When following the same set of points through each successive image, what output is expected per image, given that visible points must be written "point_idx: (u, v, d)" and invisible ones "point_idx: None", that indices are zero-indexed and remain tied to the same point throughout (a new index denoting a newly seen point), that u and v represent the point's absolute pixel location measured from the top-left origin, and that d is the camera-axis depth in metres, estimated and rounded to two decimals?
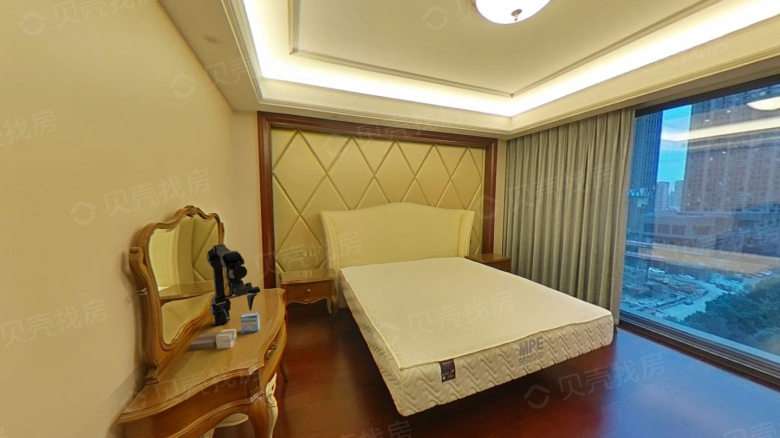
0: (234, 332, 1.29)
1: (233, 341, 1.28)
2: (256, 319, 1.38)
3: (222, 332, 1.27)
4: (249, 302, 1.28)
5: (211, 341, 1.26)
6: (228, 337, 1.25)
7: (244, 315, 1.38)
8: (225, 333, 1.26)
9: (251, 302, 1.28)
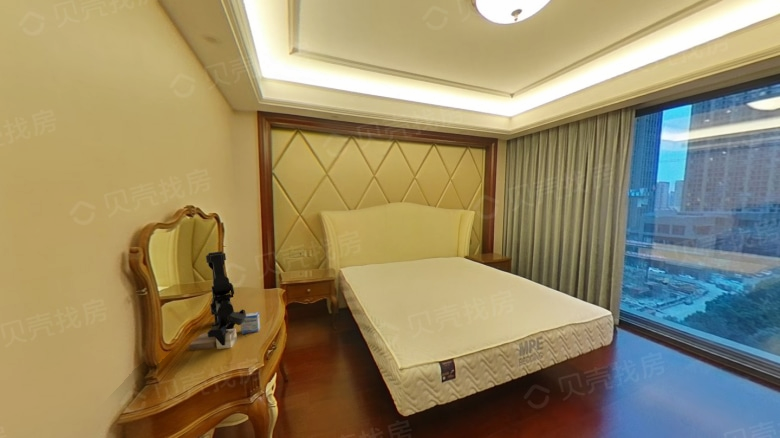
0: (234, 332, 1.29)
1: (233, 341, 1.28)
2: (256, 319, 1.38)
3: None
4: None
5: (211, 341, 1.26)
6: (228, 337, 1.25)
7: None
8: None
9: None
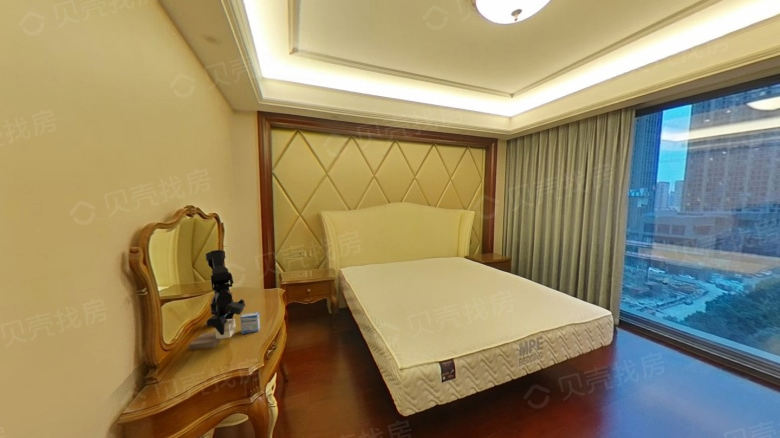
0: (233, 322, 1.28)
1: (232, 331, 1.27)
2: (256, 319, 1.38)
3: None
4: None
5: (211, 341, 1.26)
6: (227, 327, 1.24)
7: (244, 315, 1.38)
8: None
9: None
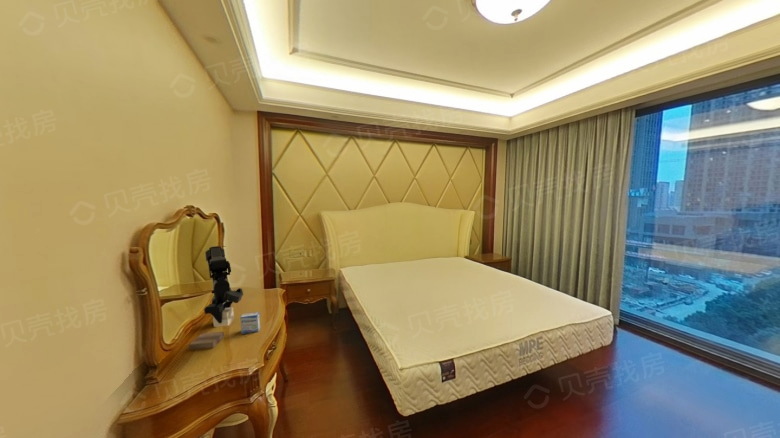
0: (231, 310, 1.28)
1: (230, 319, 1.27)
2: (256, 319, 1.38)
3: None
4: None
5: (211, 341, 1.26)
6: (225, 315, 1.24)
7: (244, 315, 1.38)
8: None
9: None
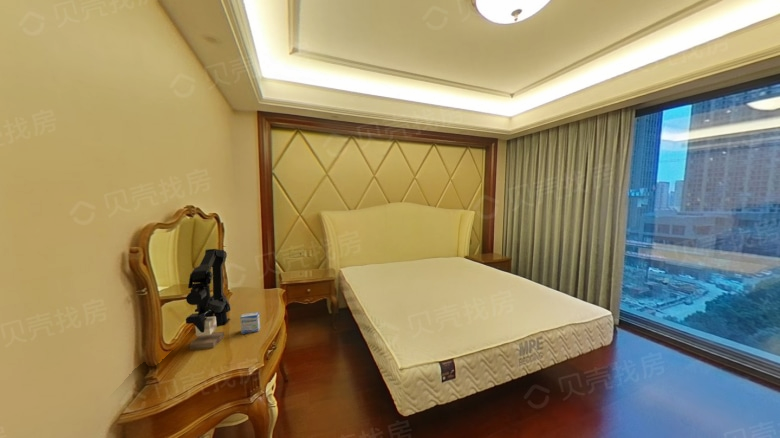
0: (214, 319, 1.30)
1: (213, 328, 1.29)
2: (256, 319, 1.38)
3: None
4: None
5: (211, 341, 1.26)
6: (207, 324, 1.26)
7: (244, 315, 1.38)
8: (205, 320, 1.28)
9: None
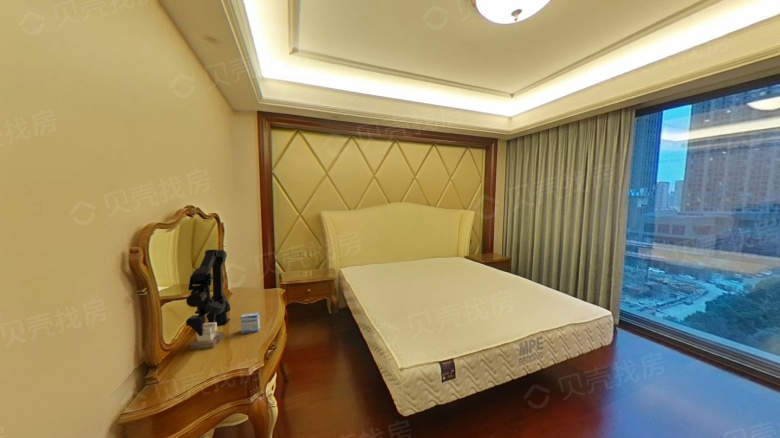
0: (215, 325, 1.31)
1: (213, 334, 1.29)
2: (256, 319, 1.38)
3: None
4: (211, 318, 1.33)
5: (211, 341, 1.26)
6: (208, 330, 1.26)
7: (244, 315, 1.38)
8: (205, 326, 1.28)
9: (214, 318, 1.34)
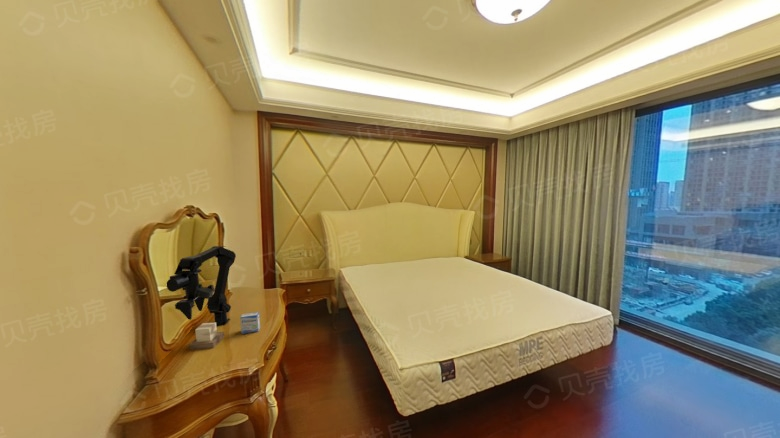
0: (214, 325, 1.30)
1: (213, 334, 1.29)
2: (256, 319, 1.38)
3: (201, 326, 1.28)
4: (200, 303, 1.37)
5: (211, 341, 1.26)
6: (208, 331, 1.26)
7: (244, 315, 1.38)
8: (205, 326, 1.28)
9: None
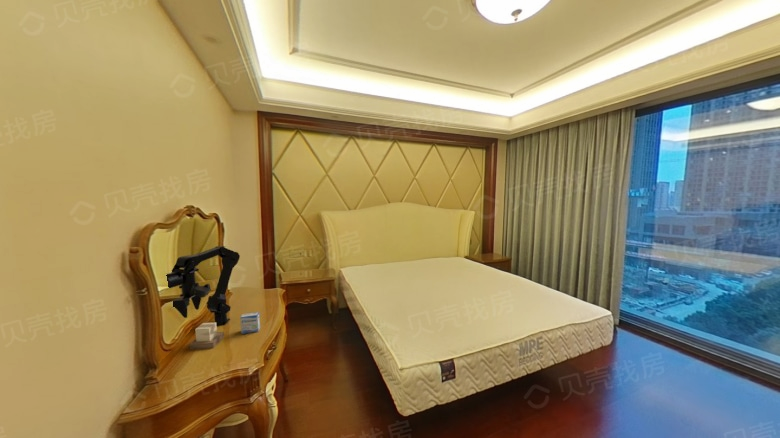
0: (214, 325, 1.31)
1: (213, 334, 1.29)
2: (256, 319, 1.38)
3: (202, 325, 1.29)
4: (196, 302, 1.39)
5: (211, 341, 1.26)
6: (207, 330, 1.26)
7: (244, 315, 1.38)
8: (205, 326, 1.28)
9: (199, 301, 1.39)
